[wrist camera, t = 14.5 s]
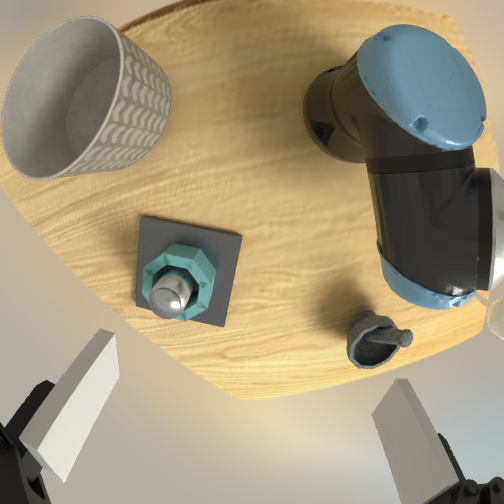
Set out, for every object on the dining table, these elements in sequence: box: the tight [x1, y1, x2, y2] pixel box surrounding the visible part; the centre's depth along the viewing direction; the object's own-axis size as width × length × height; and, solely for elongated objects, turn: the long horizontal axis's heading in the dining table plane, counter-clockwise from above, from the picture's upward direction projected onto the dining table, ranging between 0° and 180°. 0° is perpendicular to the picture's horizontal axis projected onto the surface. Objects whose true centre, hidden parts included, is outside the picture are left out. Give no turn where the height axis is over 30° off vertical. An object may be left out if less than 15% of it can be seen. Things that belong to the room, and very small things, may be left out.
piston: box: [136, 216, 243, 327], centre depth 39 cm, size 16×16×11 cm
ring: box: [142, 243, 216, 321], centre depth 40 cm, size 10×10×5 cm
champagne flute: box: [473, 292, 504, 340], centre depth 32 cm, size 7×7×24 cm
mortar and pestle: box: [347, 311, 413, 369], centre depth 40 cm, size 11×9×12 cm
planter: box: [1, 16, 171, 181], centre depth 27 cm, size 19×19×18 cm
